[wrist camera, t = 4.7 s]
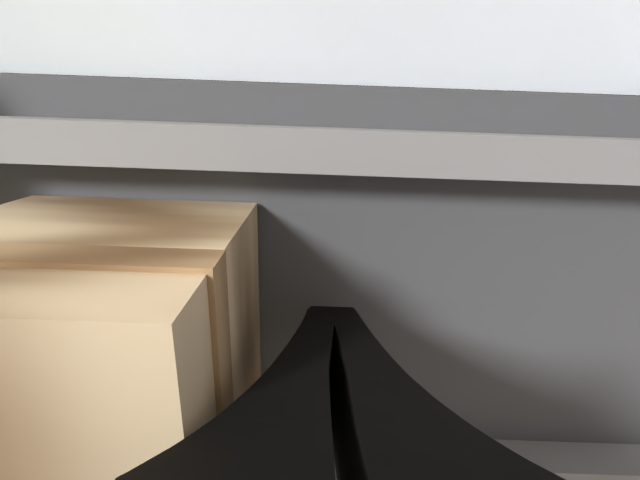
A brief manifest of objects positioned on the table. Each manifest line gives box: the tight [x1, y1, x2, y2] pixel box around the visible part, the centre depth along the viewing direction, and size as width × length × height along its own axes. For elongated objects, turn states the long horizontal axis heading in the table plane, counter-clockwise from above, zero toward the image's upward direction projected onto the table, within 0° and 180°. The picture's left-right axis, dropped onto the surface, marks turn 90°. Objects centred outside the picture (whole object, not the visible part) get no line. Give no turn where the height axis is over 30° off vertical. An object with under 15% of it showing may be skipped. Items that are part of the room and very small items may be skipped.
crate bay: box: [0, 73, 640, 480], centre depth 11 cm, size 24×13×2 cm, turn 88°
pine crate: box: [0, 195, 261, 480], centre depth 8 cm, size 6×7×6 cm
